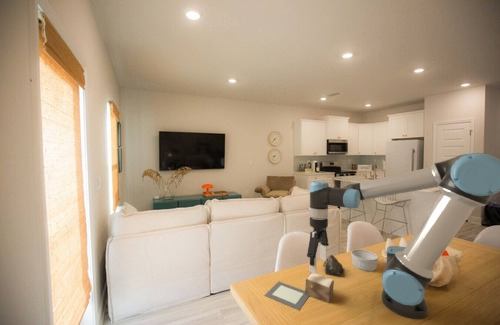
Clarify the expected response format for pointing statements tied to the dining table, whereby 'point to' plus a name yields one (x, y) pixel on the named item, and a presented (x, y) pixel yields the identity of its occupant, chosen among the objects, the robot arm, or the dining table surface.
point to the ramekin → (364, 259)
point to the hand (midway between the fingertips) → (318, 265)
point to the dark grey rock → (333, 266)
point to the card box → (319, 287)
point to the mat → (287, 295)
